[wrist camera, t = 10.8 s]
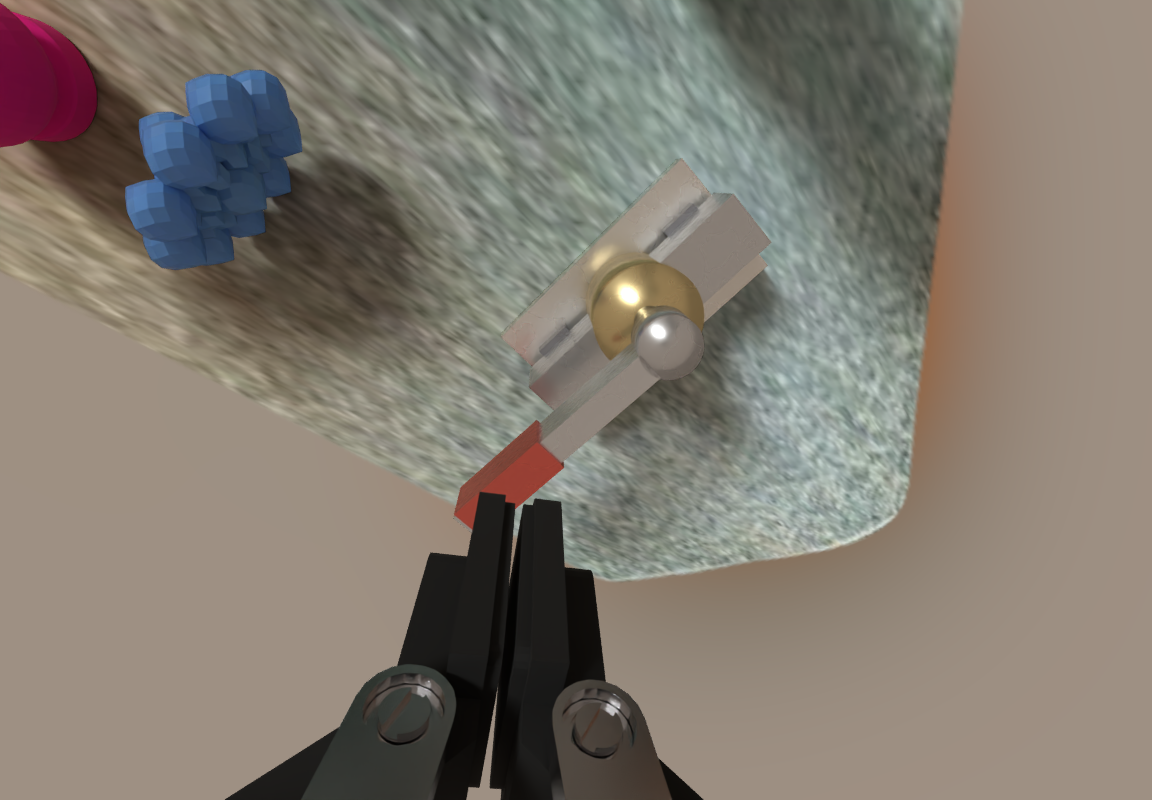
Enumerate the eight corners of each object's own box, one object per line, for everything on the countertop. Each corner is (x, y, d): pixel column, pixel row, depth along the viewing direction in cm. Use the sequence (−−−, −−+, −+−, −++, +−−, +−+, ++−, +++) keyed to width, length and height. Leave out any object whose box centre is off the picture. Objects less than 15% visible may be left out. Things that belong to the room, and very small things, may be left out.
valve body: (676, 159, 35) (725, 151, 26) (759, 262, 38) (830, 288, 29) (502, 331, 39) (491, 378, 29) (590, 414, 41) (605, 481, 32)
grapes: (252, 40, 32) (97, -37, 20) (358, 123, 33) (269, 94, 22) (163, 210, 34) (-15, 224, 23) (265, 277, 36) (145, 320, 25)
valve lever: (664, 291, 28) (677, 302, 26) (702, 336, 29) (718, 351, 27) (449, 483, 31) (441, 511, 29) (489, 518, 32) (485, 547, 30)
